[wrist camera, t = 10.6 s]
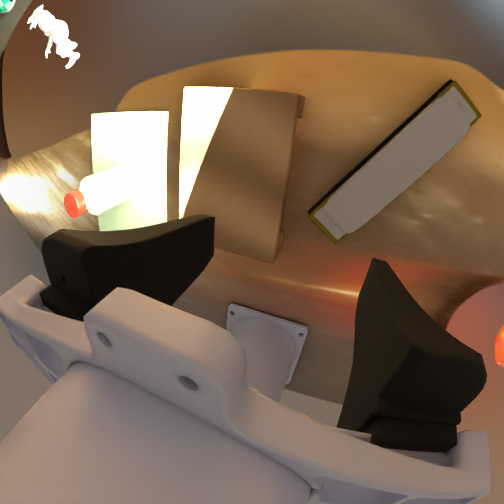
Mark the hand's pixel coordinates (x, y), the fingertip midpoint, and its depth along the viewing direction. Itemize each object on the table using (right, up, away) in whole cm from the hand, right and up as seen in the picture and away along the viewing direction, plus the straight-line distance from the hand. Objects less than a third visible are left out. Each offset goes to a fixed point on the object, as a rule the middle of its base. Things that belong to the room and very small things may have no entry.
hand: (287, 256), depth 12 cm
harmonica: (+8, +7, +5) cm, 12 cm away
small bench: (-2, +7, +9) cm, 11 cm away
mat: (-14, +7, +13) cm, 20 cm away
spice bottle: (-14, +7, +13) cm, 20 cm away
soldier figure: (-23, +26, +7) cm, 35 cm away
